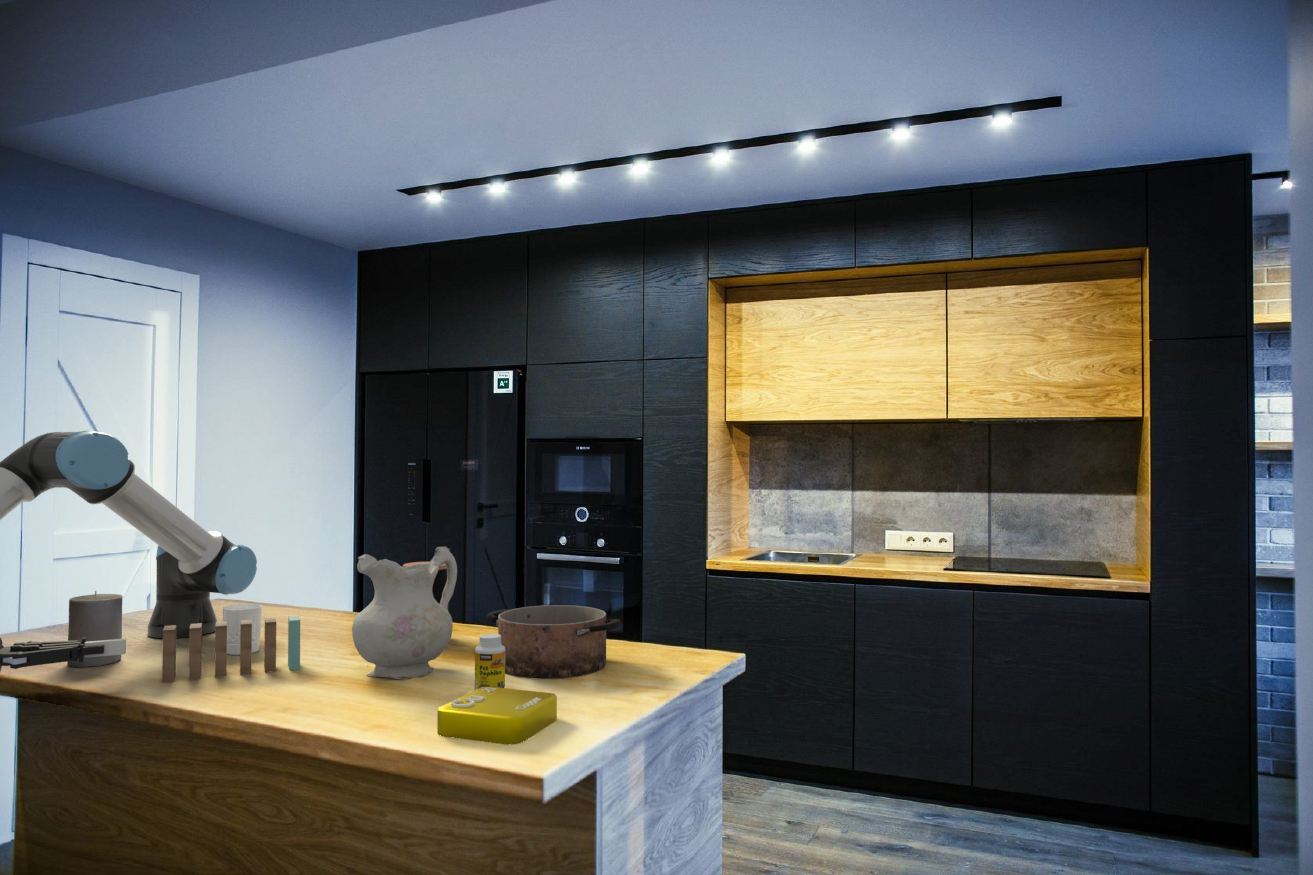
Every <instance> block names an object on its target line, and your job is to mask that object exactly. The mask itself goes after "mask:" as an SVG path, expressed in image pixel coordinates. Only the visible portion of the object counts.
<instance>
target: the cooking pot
mask: <svg viewBox="0 0 1313 875" xmlns="http://www.w3.org/2000/svg"><path fill="white" fill-rule="evenodd" d="M486 618H487V620H488V621H490V622H492V623H496V624H495V626H496V627H497V631H498V632H497V634H499V635H501V645H503V646H504V647H505V675H506V674H507V675H509V676H510V675H511V676H514V677H518V678H526V679H538V680H540V679H541V680H543V679H544V680H545V679H546V680H548V679H549V680H551V679H553V680H554V679H568V678H575V677H576V678H577V677H582V676H587V675H591V674H593V673H597V672H598V671H601V670H602V669H603V668H604V667H605V665H606V663H607V631H608V630H612V629H616V628H618V627H620V626H621V622H622V621H621V619H617V618H613V619H611V618H610V619H607V613H606V611H604V610H603V609H602V610H601V609H599V608H597V607H596V608H595V607H592V606H591V607H590V606H581V605H570V604H569V605H562V604H561V605H560V604H559V605H558V604H555V605H554V604H553V605H547V604H546V605H534V606H532V605H531V606H525V607H519V608H518V607H517V608H512V609H510V608H509V609H508V608H507V609H505V608H504V609H500V610H499V609H498V610H494V611H491V612H488V613H487V615H486Z"/></svg>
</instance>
